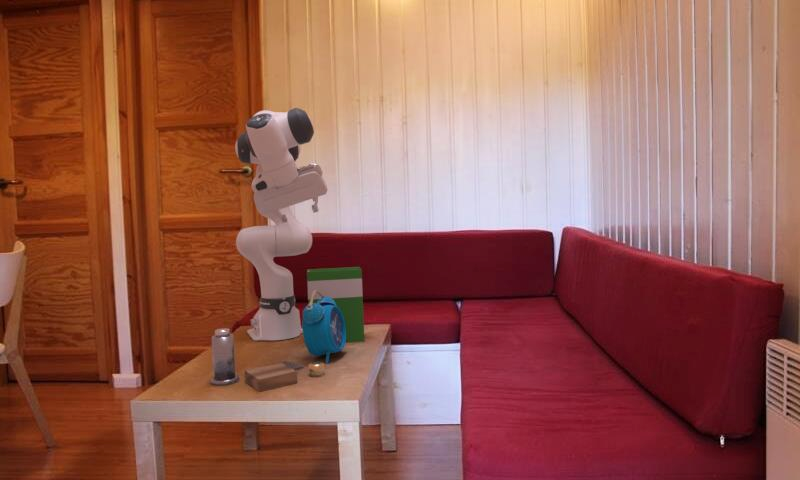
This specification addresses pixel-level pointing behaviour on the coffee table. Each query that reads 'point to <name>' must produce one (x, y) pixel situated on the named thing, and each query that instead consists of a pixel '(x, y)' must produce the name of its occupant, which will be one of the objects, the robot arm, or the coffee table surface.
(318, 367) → the brass knob
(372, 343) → the coffee table surface
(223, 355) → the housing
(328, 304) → the alarm clock
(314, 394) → the coffee table surface
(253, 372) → the stand
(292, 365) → the steel plate
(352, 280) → the hardback book
